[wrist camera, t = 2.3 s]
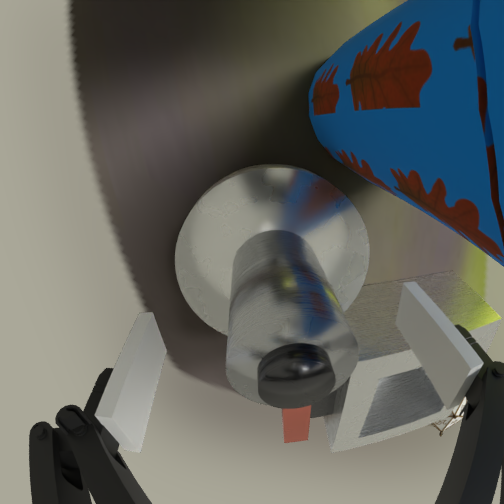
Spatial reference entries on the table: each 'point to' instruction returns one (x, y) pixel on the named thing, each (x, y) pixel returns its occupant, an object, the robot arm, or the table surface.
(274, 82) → the table surface
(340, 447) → the base
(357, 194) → the table surface
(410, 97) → the thermos
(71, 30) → the table surface
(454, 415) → the game die
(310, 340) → the lid
